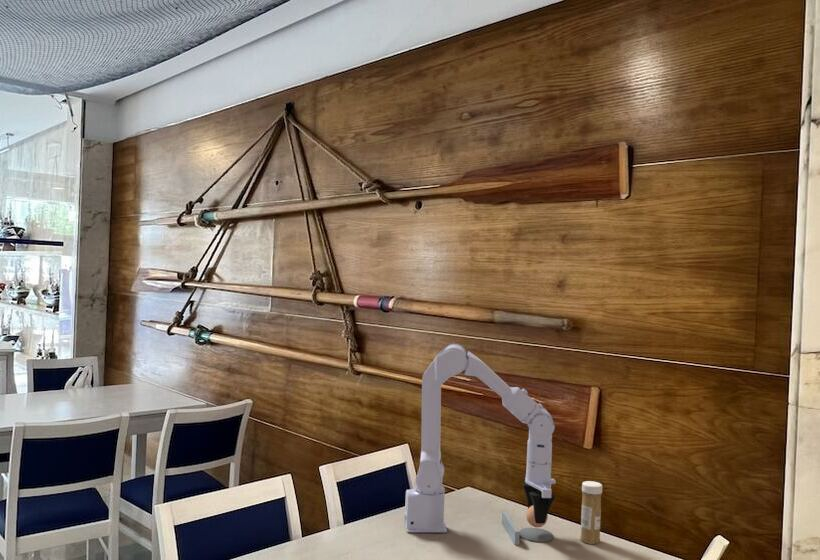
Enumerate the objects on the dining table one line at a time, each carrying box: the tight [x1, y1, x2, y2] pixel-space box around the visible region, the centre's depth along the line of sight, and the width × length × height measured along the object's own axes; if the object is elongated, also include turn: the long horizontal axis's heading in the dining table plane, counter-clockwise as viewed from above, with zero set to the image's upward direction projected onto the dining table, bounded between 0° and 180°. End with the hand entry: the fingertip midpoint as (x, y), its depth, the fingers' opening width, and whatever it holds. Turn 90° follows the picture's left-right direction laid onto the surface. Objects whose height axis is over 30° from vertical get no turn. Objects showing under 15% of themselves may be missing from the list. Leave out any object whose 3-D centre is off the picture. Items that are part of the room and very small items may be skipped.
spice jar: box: [580, 480, 603, 545], centre depth 154 cm, size 5×5×14 cm
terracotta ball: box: [525, 506, 549, 528], centre depth 156 cm, size 5×5×5 cm
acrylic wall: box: [501, 510, 520, 546], centre depth 157 cm, size 1×13×3 cm, turn 5°
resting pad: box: [519, 527, 554, 543], centre depth 156 cm, size 8×8×1 cm
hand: (536, 518), depth 156 cm, fingers closed on terracotta ball, 5 cm apart
